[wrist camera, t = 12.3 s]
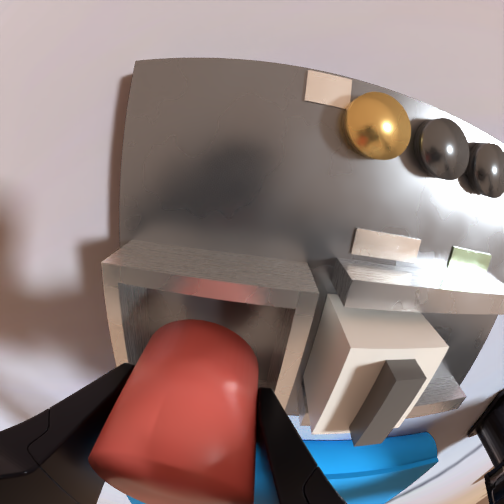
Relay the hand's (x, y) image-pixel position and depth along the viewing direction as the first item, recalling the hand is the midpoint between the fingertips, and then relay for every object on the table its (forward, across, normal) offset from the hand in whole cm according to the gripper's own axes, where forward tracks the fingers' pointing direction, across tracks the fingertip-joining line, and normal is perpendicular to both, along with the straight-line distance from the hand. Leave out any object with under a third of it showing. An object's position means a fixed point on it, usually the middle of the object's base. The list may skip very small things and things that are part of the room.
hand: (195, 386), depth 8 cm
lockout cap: (+1, 0, 0) cm, 1 cm away
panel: (+5, -6, -2) cm, 8 cm away
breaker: (+3, -6, 0) cm, 7 cm away
